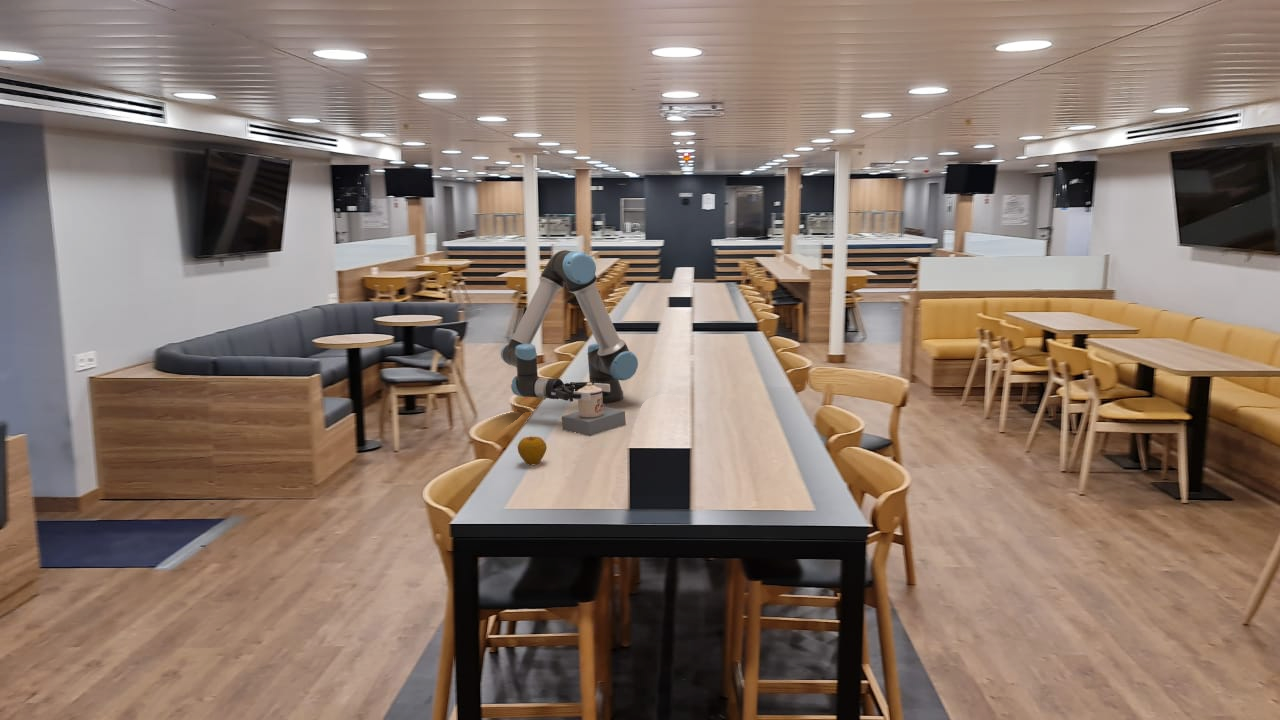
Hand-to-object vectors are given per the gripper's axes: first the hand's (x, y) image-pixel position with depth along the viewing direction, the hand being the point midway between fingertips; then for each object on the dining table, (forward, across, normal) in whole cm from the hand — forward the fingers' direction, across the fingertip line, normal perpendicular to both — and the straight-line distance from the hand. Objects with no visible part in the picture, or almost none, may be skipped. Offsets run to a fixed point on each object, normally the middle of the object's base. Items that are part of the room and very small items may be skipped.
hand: (600, 392), depth 312 cm
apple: (+1, +44, -13) cm, 45 cm away
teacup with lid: (-3, +1, -8) cm, 9 cm away
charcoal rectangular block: (-3, 0, -13) cm, 14 cm away
